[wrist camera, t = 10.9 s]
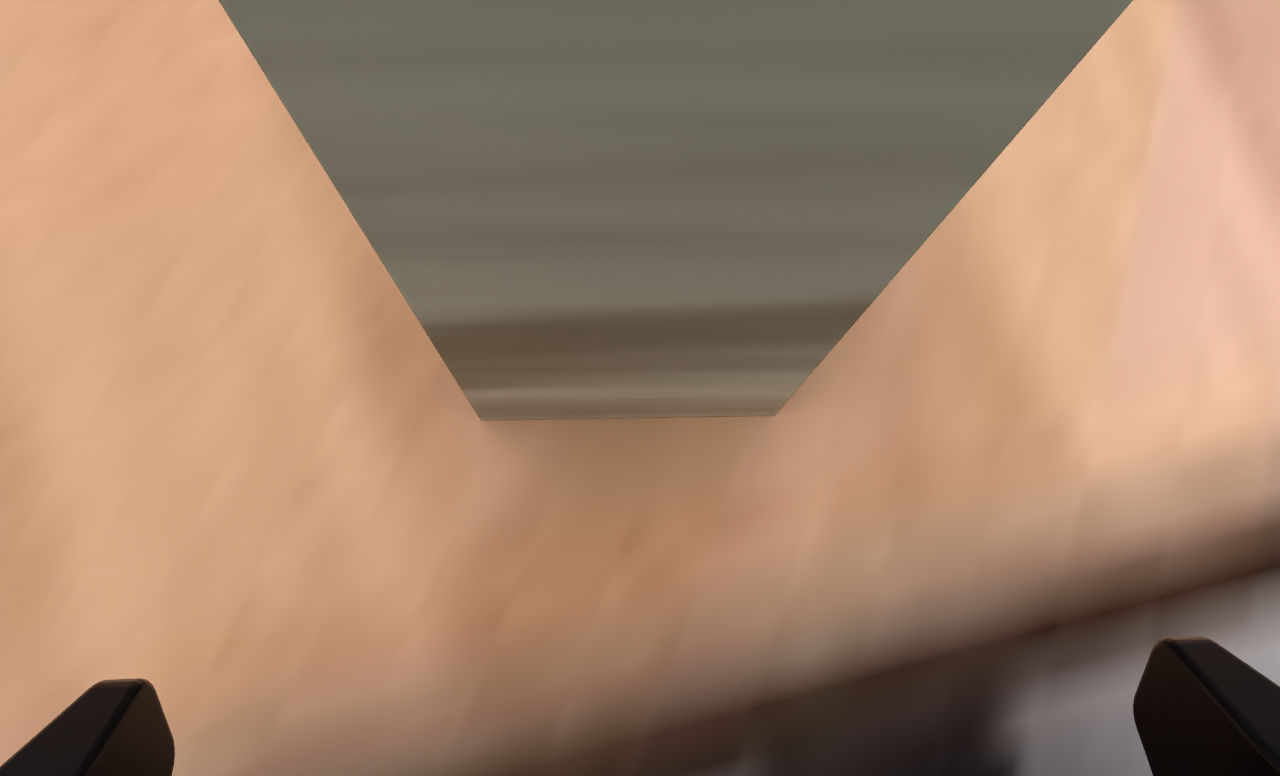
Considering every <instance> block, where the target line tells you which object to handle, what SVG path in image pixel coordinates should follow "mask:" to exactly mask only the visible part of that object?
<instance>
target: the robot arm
mask: <svg viewBox="0 0 1280 776" xmlns="http://www.w3.org/2000/svg"><path fill="white" fill-rule="evenodd" d="M1133 711H1134V719H1135V723H1136V727H1137V730H1138V733H1139V736H1140V739H1141V741H1142V744H1143V747H1144V750H1145V753H1146V756H1147V759H1148V762H1149V765H1150V767H1151V770H1152V773H1153V776H1280V687H1279V686H1278V685H1277V684H1275V683H1274V682H1272V681H1271V680H1269V679H1268V678H1266V677H1265V676H1263V675H1262V674H1261V673H1259V672H1258V671H1256V670H1255V669H1253V668H1252V667H1250V666H1249V665H1248V664H1246V663H1245V662H1243V661H1242V660H1240V659H1239V658H1237V657H1236V656H1235V655H1233V654H1232V653H1230V652H1229V651H1227V650H1226V649H1224V648H1223V647H1221V646H1220V645H1219V644H1217V643H1215V642H1214V641H1212V640H1210V639H1208V638H1205V637H1199V636H1193V637H1168V638H1163V639H1161V640H1159V641H1158V642H1157V643H1156V644H1155V645H1154V647H1153V649H1152V651H1151V654H1150V657H1149V659H1148V662H1147V665H1146V667H1145V670H1144V673H1143V675H1142V678H1141V681H1140V683H1139V686H1138V689H1137V691H1136V694H1135V697H1134V704H1133ZM174 758H175V747H174V740H173V737H172V734H171V731H170V728H169V726H168V723H167V720H166V717H165V715H164V712H163V709H162V707H161V704H160V701H159V698H158V696H157V693H156V690H155V689H154V687H153V685H152V684H151V683H150V682H149V681H147V680H146V679H116V680H104V681H101V682H98V683H97V684H95V685H93V686H92V687H90V688H89V689H88V690H87V691H86V692H85V693H83V694H82V695H81V696H80V697H79V698H78V699H77V700H75V701H74V702H73V703H72V704H71V705H70V706H69V707H68V708H66V709H65V710H64V711H63V712H62V713H61V714H60V715H58V716H57V717H56V718H55V719H54V720H53V721H52V722H50V723H49V724H48V725H47V726H46V727H45V728H44V729H43V730H41V731H40V732H39V733H38V734H37V735H36V736H35V737H33V738H32V739H31V740H30V741H29V742H28V743H27V744H26V745H24V746H23V747H22V748H21V749H20V750H19V751H18V752H16V753H15V754H14V755H13V756H12V757H11V758H10V759H8V760H7V761H6V762H5V763H4V764H3V765H2V766H1V767H0V776H172V771H173V766H174Z"/></svg>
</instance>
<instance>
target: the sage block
mask: <svg viewBox="0 0 1280 776" xmlns="http://www.w3.org/2000/svg"><path fill="white" fill-rule="evenodd" d="M1132 1H1133V0H219V2H220V3H221V5H222V6H223V8H224V10H225V11H226V13H227V14H228V16H229V18H230V19H231V21H232V22H233V24H234V26H235V27H236V29H237V30H238V32H239V34H240V35H241V37H242V38H243V40H244V42H245V43H246V45H247V46H248V48H249V50H250V51H251V53H252V54H253V56H254V58H255V59H256V61H257V62H258V64H259V66H260V67H261V69H262V71H263V72H264V74H265V75H266V77H267V79H268V80H269V82H270V83H271V85H272V87H273V88H274V90H275V91H276V93H277V95H278V96H279V98H280V99H281V101H282V103H283V104H284V106H285V107H286V109H287V111H288V112H289V114H290V115H291V117H292V119H293V120H294V122H295V123H296V125H297V127H298V128H299V130H300V131H301V133H302V135H303V136H304V138H305V139H306V141H307V143H308V144H309V146H310V147H311V149H312V151H313V152H314V154H315V155H316V157H317V159H318V160H319V162H320V163H321V165H322V167H323V168H324V170H325V171H326V173H327V175H328V176H329V178H330V179H331V181H332V183H333V184H334V186H335V187H336V189H337V191H338V192H339V194H340V195H341V197H342V199H343V200H344V202H345V203H346V205H347V207H348V208H349V210H350V211H351V213H352V215H353V216H354V218H355V220H356V221H357V223H358V224H359V226H360V228H361V229H362V231H363V232H364V234H365V236H366V237H367V239H368V240H369V242H370V244H371V245H372V247H373V248H374V250H375V252H376V253H377V255H378V256H379V258H380V260H381V261H382V263H383V264H384V266H385V268H386V269H387V271H388V272H389V274H390V276H391V277H392V279H393V280H394V282H395V284H396V285H397V287H398V288H399V290H400V292H401V293H402V295H403V296H404V298H405V300H406V301H407V303H408V304H409V306H410V308H411V309H412V311H413V312H414V314H415V316H416V317H417V319H418V320H419V322H420V324H421V325H422V327H423V328H424V330H425V332H426V333H427V335H428V336H429V338H430V340H431V341H432V343H433V344H434V346H435V348H436V349H437V351H438V352H439V354H440V356H441V357H442V359H443V361H444V362H445V364H446V365H447V367H448V369H449V370H450V372H451V373H452V375H453V377H454V378H455V380H456V381H457V383H458V385H459V386H460V388H461V389H462V391H463V393H464V394H465V396H466V397H467V399H468V401H469V402H470V404H471V405H472V407H473V409H474V410H475V412H476V413H477V415H478V417H479V418H480V420H520V419H585V418H649V417H714V416H775V414H776V413H777V412H778V411H779V410H780V409H781V407H782V406H783V405H784V404H785V403H786V402H787V400H788V399H789V398H790V397H791V396H792V395H793V394H794V392H795V391H796V390H797V389H798V388H799V387H800V385H801V384H802V383H803V382H804V381H805V380H806V378H807V377H808V376H809V375H810V374H811V373H812V372H813V370H814V369H815V368H816V367H817V366H818V365H819V363H820V362H821V361H822V360H823V359H824V358H825V356H826V355H827V354H828V353H829V352H830V351H831V350H832V348H833V347H834V346H835V345H836V344H837V343H838V341H839V340H840V339H841V338H842V337H843V336H844V334H845V333H846V332H847V331H848V330H849V329H850V327H851V326H852V325H853V324H854V323H855V322H856V321H857V319H858V318H859V317H860V316H861V315H862V314H863V312H864V311H865V310H866V309H867V308H868V307H869V305H870V304H871V303H872V302H873V301H874V300H875V299H876V297H877V296H878V295H879V294H880V293H881V292H882V290H883V289H884V288H885V287H886V286H887V285H888V283H889V282H890V281H891V280H892V279H893V278H894V276H895V275H896V274H897V273H898V272H899V271H900V270H901V268H902V267H903V266H904V265H905V264H906V263H907V261H908V260H909V259H910V258H911V257H912V256H913V254H914V253H915V252H916V251H917V250H918V249H919V248H920V246H921V245H922V244H923V243H924V242H925V241H926V239H927V238H928V237H929V236H930V235H931V234H932V232H933V231H934V230H935V229H936V228H937V227H938V225H939V224H940V223H941V222H942V221H943V220H944V219H945V217H946V216H947V215H948V214H949V213H950V212H951V210H952V209H953V208H954V207H955V206H956V205H957V203H958V202H959V201H960V200H961V199H962V198H963V197H964V195H965V194H966V193H967V192H968V191H969V190H970V188H971V187H972V186H973V185H974V184H975V183H976V181H977V180H978V179H979V178H980V177H981V176H982V174H983V173H984V172H985V171H986V170H987V169H988V168H989V166H990V165H991V164H992V163H993V162H994V161H995V159H996V158H997V157H998V156H999V155H1000V154H1001V152H1002V151H1003V150H1004V149H1005V148H1006V147H1007V146H1008V144H1009V143H1010V142H1011V141H1012V140H1013V139H1014V137H1015V136H1016V135H1017V134H1018V133H1019V132H1020V130H1021V129H1022V128H1023V127H1024V126H1025V125H1026V123H1027V122H1028V121H1029V120H1030V119H1031V118H1032V117H1033V115H1034V114H1035V113H1036V112H1037V111H1038V110H1039V108H1040V107H1041V106H1042V105H1043V104H1044V103H1045V101H1046V100H1047V99H1048V98H1049V97H1050V96H1051V95H1052V93H1053V92H1054V91H1055V90H1056V89H1057V88H1058V86H1059V85H1060V84H1061V83H1062V82H1063V81H1064V79H1065V78H1066V77H1067V76H1068V75H1069V74H1070V72H1071V71H1072V70H1073V69H1074V68H1075V67H1076V66H1077V64H1078V63H1079V62H1080V61H1081V60H1082V59H1083V57H1084V56H1085V55H1086V54H1087V53H1088V52H1089V50H1090V49H1091V48H1092V47H1093V46H1094V45H1095V44H1096V42H1097V41H1098V40H1099V39H1100V38H1101V37H1102V35H1103V34H1104V33H1105V32H1106V31H1107V30H1108V28H1109V27H1110V26H1111V25H1112V24H1113V23H1114V22H1115V20H1116V19H1117V18H1118V17H1119V16H1120V15H1121V13H1122V12H1123V11H1124V10H1125V9H1126V8H1127V6H1128V5H1129V4H1130V3H1131V2H1132Z"/></svg>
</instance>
